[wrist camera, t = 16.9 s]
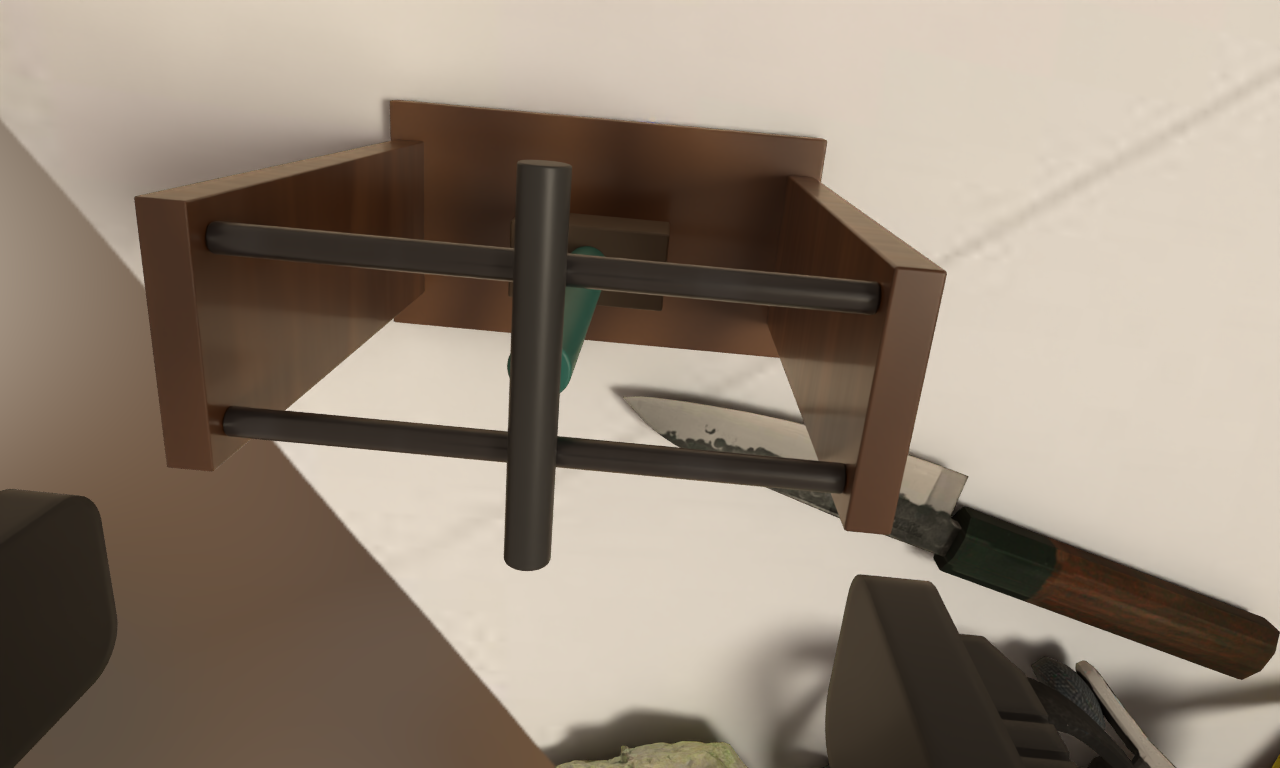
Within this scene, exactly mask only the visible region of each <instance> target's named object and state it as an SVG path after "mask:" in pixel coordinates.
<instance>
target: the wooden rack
mask: <svg viewBox="0 0 1280 768" xmlns="http://www.w3.org/2000/svg"><path fill="white" fill-rule="evenodd" d="M390 134H391V141H388V142H383V143H379V144H374V145H370V146H365V147H360V148H356V149H351V150H347V151H342V152H337V153H333V154H328V155H324V156H319V157H314V158H310V159H305V160H301V161H296V162H291V163H287V164H282V165H277V166H273V167H268V168H264V169H259V170H254V171H250V172H245V173H241V174H236V175H231V176H227V177H222V178H218V179H213V180H208V181H204V182H199V183H195V184H190V185H185V186H181V187H176V188H172V189H167V190H162V191H158V192H153V193H149V194H144V195H139V196H135V198H134V200H135V209H136V217H137V225H138V233H139V241H140V249H141V257H142V266H143V274H144V282H145V290H146V298H147V306H148V314H149V322H150V330H151V339H152V347H153V355H154V363H155V371H156V379H157V388H158V396H159V403H160V411H161V420H162V428H163V437H164V445H165V452H166V460H167V467H171V468H181V469H192V470H202V471H214V470H215V469H216V468H218V467H219V466H220V465H221V464H223V463H224V462H225V461H226V460H227V459H228V458H230V457H231V456H232V455H233V454H234V453H235V452H237V451H238V450H239V449H240V448H241V447H242V446H244V445H245V444H246V443H247V442H248V441H249V440H251V439H262V440H273V441H283V442H294V443H305V444H315V445H326V446H336V447H347V448H358V449H368V450H379V451H390V452H400V453H411V454H421V455H432V456H443V457H453V458H464V459H474V460H485V461H496V462H506V463H507V447H508V432H507V431H496V430H486V429H475V428H464V427H454V426H443V425H432V424H422V423H411V422H400V421H390V420H379V419H368V418H358V417H347V416H336V415H326V414H315V413H305V412H294V411H285V410H286V409H287V408H288V407H290V406H291V405H292V404H293V403H294V402H296V401H297V400H298V399H299V398H300V397H301V396H303V395H304V394H305V393H306V392H307V391H308V390H310V389H311V388H312V387H313V386H314V385H316V384H317V383H318V382H319V381H320V380H321V379H323V378H324V377H325V376H326V375H327V374H328V373H330V372H331V371H332V370H333V369H334V368H336V367H337V366H338V365H339V364H340V363H341V362H343V361H344V360H345V359H346V358H347V357H348V356H350V355H351V354H352V353H353V352H354V351H356V350H357V349H358V348H359V347H360V346H361V345H363V344H364V343H365V342H366V341H367V340H369V339H370V338H371V337H372V336H373V335H374V334H376V333H377V332H378V331H379V330H380V329H381V328H383V327H384V326H385V325H386V324H387V323H389V322H390V321H391V320H392V319H393V318H394V322H400V323H410V324H421V325H432V326H443V327H453V328H464V329H475V330H486V331H496V332H507V333H511V326H512V297H509V296H508V283H509V282H513V266H514V248H510V222H511V220H512V219H513V218H515V206H516V175H517V162H518V161H520V160H546V161H556V162H562V163H567V164H570V165H571V166H572V180H571V198H570V213H576V214H587V215H598V216H609V217H619V218H630V219H641V220H652V221H663V222H669V224H670V234H669V246H668V256H667V262H658V261H647V260H636V259H625V258H614V257H603V256H592V255H582V254H571V253H567V271H566V287H573V288H584V289H595V290H606V291H616V292H627V293H638V294H649V295H660V296H664V297H663V308H662V311H653V310H642V309H631V308H620V307H610V306H599V305H596V307H595V310H594V313H593V316H592V319H591V322H590V324H589V327H588V330H587V333H586V336H585V339H584V340H593V341H604V342H615V343H625V344H636V345H647V346H658V347H668V348H679V349H690V350H701V351H711V352H722V353H733V354H744V355H755V356H765V357H776V358H780V360H781V362H782V365H783V368H784V370H785V373H786V376H787V378H788V381H789V384H790V386H791V389H792V392H793V394H794V397H795V400H796V402H797V405H798V408H799V410H800V413H801V415H802V418H803V421H804V423H805V426H806V429H807V431H808V434H809V437H810V439H811V442H812V445H813V447H814V450H815V453H816V455H817V458H818V461H816V460H805V459H794V458H784V457H773V456H762V455H752V454H741V453H730V452H720V451H709V450H698V449H688V448H677V447H667V446H656V445H645V444H635V443H624V442H613V441H603V440H592V439H581V438H571V437H560V436H557V451H556V467H559V468H570V469H581V470H591V471H602V472H612V473H623V474H634V475H644V476H655V477H666V478H676V479H687V480H697V481H708V482H719V483H729V484H740V485H750V486H761V487H772V488H782V489H793V490H803V491H814V492H825V493H831V495H832V498H833V501H834V503H835V506H836V509H837V511H838V514H839V516H840V519H841V522H842V524H843V527H844V530H846V531H853V532H863V533H874V534H884V535H889V534H890V533H891V531H892V526H893V521H894V517H895V512H896V507H897V503H898V498H899V494H900V489H901V484H902V480H903V475H904V470H905V466H906V461H907V456H908V452H909V447H910V442H911V438H912V433H913V429H914V424H915V419H916V415H917V410H918V405H919V401H920V396H921V391H922V387H923V382H924V378H925V373H926V368H927V364H928V359H929V354H930V350H931V345H932V340H933V336H934V331H935V327H936V322H937V317H938V313H939V308H940V303H941V299H942V294H943V289H944V285H945V280H946V275H947V273H946V271H945V270H943V269H942V268H941V267H939V266H938V265H936V264H935V263H934V262H932V261H931V260H929V259H928V258H927V257H925V256H924V255H922V254H921V253H919V252H918V251H917V250H915V249H914V248H912V247H911V246H910V245H908V244H907V243H905V242H904V241H903V240H901V239H900V238H898V237H897V236H895V235H894V234H893V233H891V232H890V231H888V230H887V229H886V228H884V227H883V226H881V225H880V224H879V223H877V222H876V221H874V220H873V219H872V218H870V217H869V216H867V215H866V214H864V213H863V212H862V211H860V210H859V209H857V208H856V207H855V206H853V205H852V204H850V203H849V202H848V201H846V200H845V199H843V198H842V197H840V196H839V195H838V194H836V193H835V192H833V191H832V190H831V189H829V188H828V187H826V186H825V185H824V184H822V183H821V178H822V171H823V165H824V159H825V152H826V146H827V140H825V139H822V138H811V137H800V136H789V135H778V134H767V133H756V132H745V131H734V130H723V129H712V128H701V127H690V126H679V125H668V124H657V123H646V122H635V121H624V120H613V119H602V118H591V117H580V116H569V115H558V114H547V113H536V112H525V111H514V110H503V109H492V108H481V107H470V106H459V105H448V104H437V103H426V102H415V101H404V100H392V101H390Z"/></svg>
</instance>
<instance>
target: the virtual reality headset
mask: <svg viewBox="0 0 1280 768" xmlns="http://www.w3.org/2000/svg"><path fill="white" fill-rule="evenodd" d="M1032 669H1033V672H1034V674H1035V676H1036V677H1037V679H1038V681H1039V682H1038V681H1036V680H1034V679H1031V678H1028V677H1027V679H1028V681H1029V683H1030V684H1031V686H1032V688H1033V690H1034V691H1035V693H1036V695H1037V697H1038V698H1039V700H1040V702H1041V704H1042V705H1043V707H1044V709H1045V711H1046V712H1047V714H1048V722H1049V724H1053V725H1054V726H1055V728H1056V730H1058V731H1061V732H1064V733H1068V734H1071V735H1073V736H1075V737H1076V738H1078V739H1079V740H1081V741H1082V742H1084V743H1086V744H1087V745H1088V746H1089V747H1091V748H1092V749H1093V750H1095V751H1096V752H1097V753H1098V754H1099V755H1100V756H1097V757H1095V758H1093V760H1092V761H1091V763H1090V764H1089V767H1088V768H1176V767H1175V766H1174V765H1173V764H1172V763H1171V762H1170V761H1169V760H1168V759H1167V758H1166V757H1165V756H1164V755H1163V754H1162V753H1161V752H1160V751H1159V750H1158V749H1157V748H1156V747H1155V746H1154V744H1153V743H1152V742H1151V741H1150V740H1149V739H1148V738H1147V737H1146V735H1145V734H1144V733H1143V731H1142V730H1141V729H1140V727H1139V726H1138V725H1137V723H1136V722H1135V721H1134V720H1133V718H1132V717H1131V716H1130V714H1129V713H1128V712H1127V710H1126V709H1125V708H1124V707H1123V705H1122V704H1121V702H1120V701H1119V700H1118V698H1117V697H1116V695H1115V694H1114V693H1113V691H1112V690H1111V689H1110V687H1109V686H1108V684H1107V683H1106V682H1105V680H1104V679H1103V677H1102V676H1101V675H1100V674H1099V672H1098V671H1097V670H1096V669H1095V668H1094V667H1093V666H1092V665H1091V664H1089V663H1088V662H1086V661H1084V660H1083V661H1080V662H1078V663H1076V672H1077V673H1076V672H1075V671H1073V670H1072V669H1071V668H1070V667H1068V666H1066V665H1064V664H1063V663H1061V662H1058V661H1056V660H1054V659H1051V658H1048V657H1043V658H1042V659H1040V660H1039V661H1037V662H1036V663H1034V664H1033V665H1032ZM1103 715H1104V716H1103ZM1104 717H1105V718H1106V719H1107V721H1108V722H1109V723H1110V725H1111V726H1112V727H1113V729H1114V730H1115V732H1116V733H1117V734H1118V736H1119V737H1120V738H1121V740H1122V741H1123V742H1124V744H1125V745H1126V747H1127V748H1128V749H1129V750H1130V751H1131V752H1132V753H1133V754H1134V755H1135V756H1134V758H1133V760H1132V761H1131V760H1130V759H1129V757H1128V756H1127V755H1126V754H1125V753H1124V751H1123V750H1122V749H1121V748H1120V747H1119V746H1118V745H1117V744H1116V743H1115V741H1114V740H1113V739H1112V738H1111V737H1110V736H1109V735H1108V734H1107V733H1106V732H1105V731H1104V730H1105V720H1104ZM823 768H830V765H828V766H825V767H823Z"/></svg>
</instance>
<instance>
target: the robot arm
mask: <svg viewBox="0 0 1280 768" xmlns="http://www.w3.org/2000/svg"><path fill="white" fill-rule="evenodd" d="M116 636H117V614H116V608H115V602H114V595H113V589H112V583H111V578H110V571H109V565H108V559H107V552H106V547H105V540H104V534H103V528H102V522H101V517H100V514H99V511H98V509H97V507H96V505H95V504H94V503H93V502H92V501H91V500H90V499H88V498H86V497H84V496H77V495H67V494H57V493H46V492H36V491H26V490H16V489H6V490H2V491H0V768H14V766H15V765H16V764H17V763H18V762H19V761H20V760H21V759H22V758H23V757H24V756H25V755H26V754H27V753H28V752H29V751H30V750H31V749H32V747H34V745H35V744H36V743H37V742H38V741H39V740H40V739H41V738H42V737H43V736H44V735H45V734H46V733H47V732H48V731H49V730H50V729H51V728H52V727H53V726H54V725H55V724H56V723H57V721H58V720H59V719H60V718H61V717H62V716H63V715H64V714H65V713H66V712H67V711H68V710H69V709H70V708H71V707H72V706H73V705H74V704H75V703H76V702H77V701H78V700H79V699H80V697H81V696H82V695H83V694H84V693H85V692H86V691H87V690H88V689H89V688H90V687H91V686H92V685H93V684H94V683H95V682H96V680H97V679H98V678H99V677H100V675H101V674H102V672H103V671H104V669H105V667H106V665H107V664H108V661H109V659H110V657H111V655H112V651H113V649H114V645H115V641H116ZM825 733H826V747H827V755H828V760H829V765H830V768H1078V766H1077V765H1076V763H1075V762H1070V759H1069V751H1068V749H1067V747H1066V745H1065V744H1064V742H1063V740H1062V739H1061V737H1060V735H1059V733H1058V732H1057V730H1056V728H1055V726H1054V725H1053V724H1049V722H1048V714H1047V712H1046V711H1045V709H1044V707H1043V705H1042V704H1041V702H1040V700H1039V698H1038V697H1037V695H1036V693H1035V691H1034V690H1033V688H1032V686H1031V684H1030V683H1029V681H1028V679H1027V677H1026V676H1025V674H1024V673H1023V672H1022V671H1021V670H1020V669H1019V668H1018V667H1017V666H1015V665H1014V664H1013V663H1012V662H1011V661H1010V660H1009V659H1008V658H1007V657H1006V656H1004V655H1003V654H1002V653H1001V652H1000V651H999V650H998V649H997V648H996V647H995V646H993V645H992V644H991V643H990V642H989V641H988V640H987V639H986V638H985V637H983V636H974V635H964V634H959V633H958V631H957V629H956V627H955V625H954V623H953V621H952V619H951V617H950V615H949V613H948V611H947V609H946V607H945V605H944V603H943V601H942V599H941V597H940V595H939V593H938V591H937V589H936V587H935V586H934V585H933V584H932V583H931V582H929V581H921V580H911V579H901V578H891V577H881V576H870V575H857V576H855V578H854V579H853V581H852V583H851V586H850V589H849V593H848V597H847V602H846V607H845V611H844V616H843V621H842V626H841V631H840V636H839V641H838V645H837V650H836V655H835V660H834V665H833V670H832V675H831V679H830V684H829V689H828V695H827V702H826V717H825Z"/></svg>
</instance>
